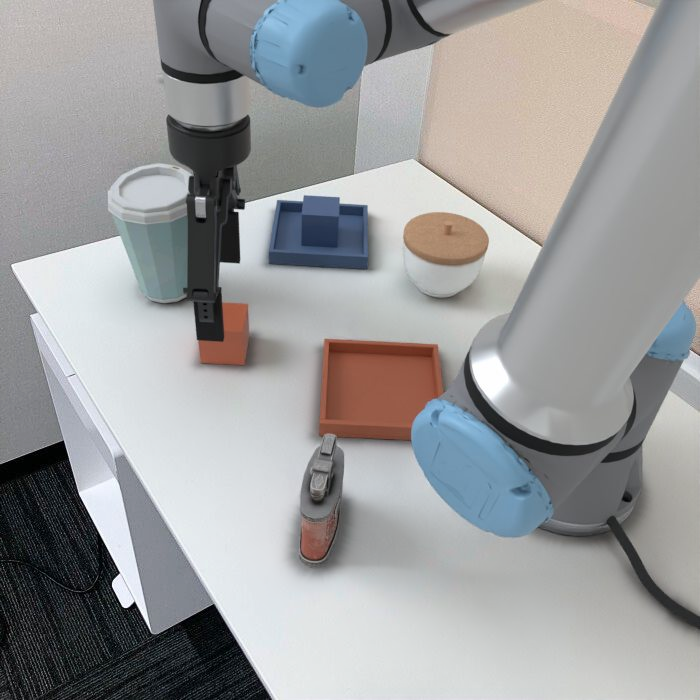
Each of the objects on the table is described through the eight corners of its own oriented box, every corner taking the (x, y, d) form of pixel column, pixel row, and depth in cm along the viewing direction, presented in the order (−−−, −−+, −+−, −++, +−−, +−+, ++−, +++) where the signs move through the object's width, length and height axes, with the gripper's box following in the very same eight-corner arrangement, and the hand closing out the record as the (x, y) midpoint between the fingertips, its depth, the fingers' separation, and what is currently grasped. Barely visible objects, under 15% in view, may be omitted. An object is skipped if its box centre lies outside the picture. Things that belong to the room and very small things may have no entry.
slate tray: (367, 269, 99) (368, 256, 98) (268, 263, 99) (268, 251, 97) (366, 216, 109) (367, 204, 108) (277, 211, 109) (277, 199, 107)
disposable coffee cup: (172, 325, 88) (157, 217, 78) (104, 294, 92) (82, 187, 82) (226, 281, 95) (218, 177, 85) (161, 254, 99) (146, 151, 89)
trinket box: (482, 311, 94) (496, 250, 88) (398, 306, 94) (406, 244, 87) (474, 262, 102) (486, 203, 96) (396, 257, 102) (403, 198, 95)
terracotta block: (244, 365, 84) (242, 332, 81) (200, 363, 84) (196, 329, 81) (249, 336, 88) (248, 303, 84) (207, 334, 88) (204, 301, 84)
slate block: (337, 247, 102) (339, 216, 98) (301, 245, 102) (301, 214, 98) (338, 227, 105) (339, 197, 102) (303, 225, 105) (303, 195, 102)
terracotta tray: (445, 442, 77) (447, 429, 76) (318, 436, 77) (319, 423, 75) (435, 356, 87) (437, 344, 86) (323, 351, 87) (324, 338, 85)
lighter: (329, 570, 65) (334, 502, 58) (292, 563, 65) (293, 494, 59) (345, 497, 71) (352, 428, 64) (311, 491, 71) (314, 421, 65)
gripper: (190, 57, 76) (203, 231, 90) (134, 180, 57) (163, 375, 72) (263, 62, 76) (265, 235, 90) (231, 187, 58) (240, 379, 72)
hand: (220, 297), depth 81 cm, fingers open, 13 cm apart
